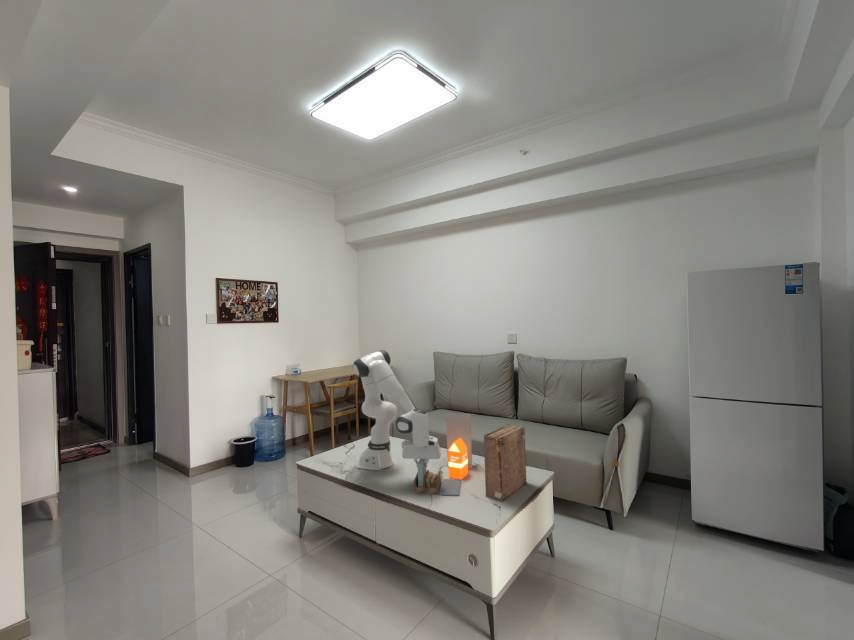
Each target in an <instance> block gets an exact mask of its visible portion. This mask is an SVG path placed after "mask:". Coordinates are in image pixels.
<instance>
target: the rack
mask: <svg viewBox="0 0 854 640" xmlns="http://www.w3.org/2000/svg"><path fill="white" fill-rule="evenodd" d="M429 472H430V470H429V469H428V470H427V469H426V474H425V477H424V480H423V487H418V471H417V473H416V474H415V475H416V476H415V477H414V480H413V494H416V495H438V494H439V491H440V487H441V484H442V476H441V470H438V471H437V473H436V474H437V477H436V480H435V488H432V487H426V479H427V476H428V473H429Z"/></svg>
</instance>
